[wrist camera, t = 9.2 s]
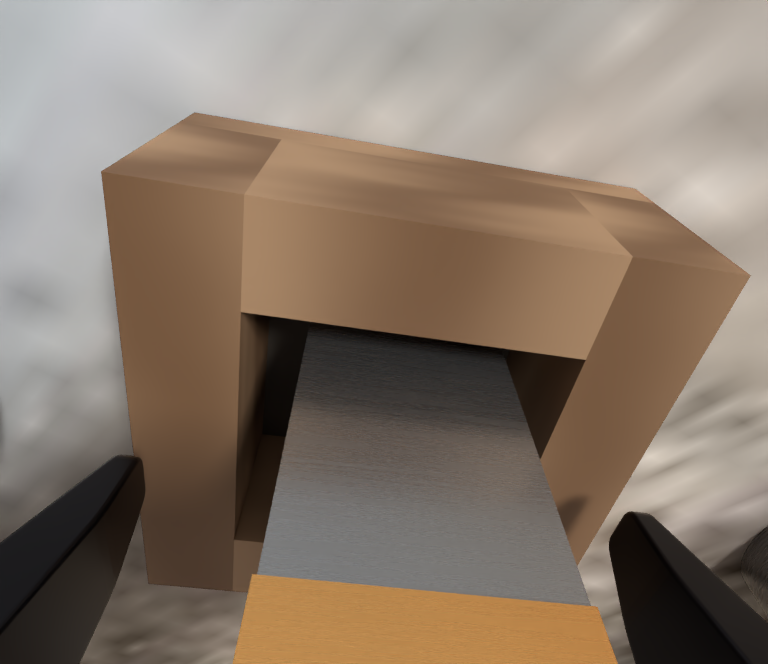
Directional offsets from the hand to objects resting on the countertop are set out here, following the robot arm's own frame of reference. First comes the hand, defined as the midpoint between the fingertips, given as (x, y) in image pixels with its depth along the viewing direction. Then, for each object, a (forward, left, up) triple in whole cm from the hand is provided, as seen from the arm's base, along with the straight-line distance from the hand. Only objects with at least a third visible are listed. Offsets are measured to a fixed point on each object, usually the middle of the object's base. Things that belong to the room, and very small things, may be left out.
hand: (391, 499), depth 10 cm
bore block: (0, 0, -6) cm, 6 cm away
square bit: (0, 0, -4) cm, 4 cm away
